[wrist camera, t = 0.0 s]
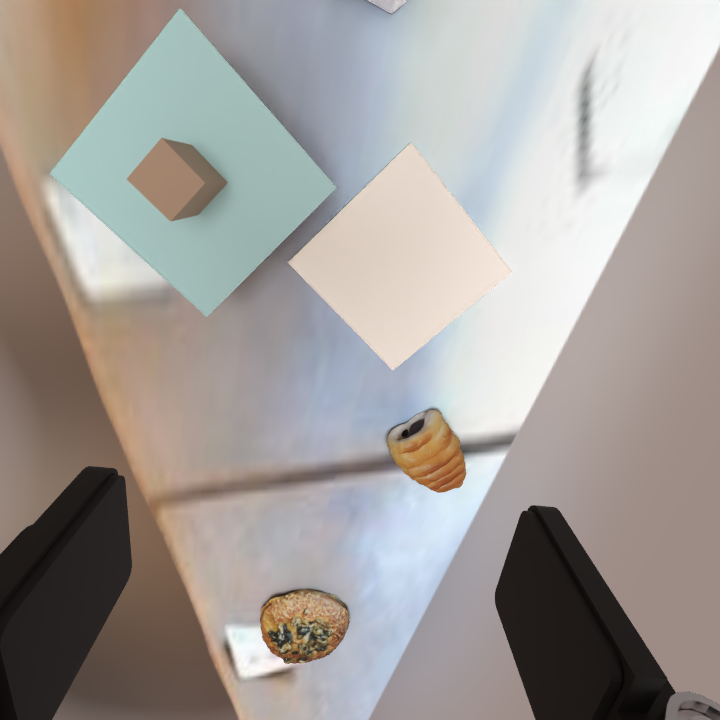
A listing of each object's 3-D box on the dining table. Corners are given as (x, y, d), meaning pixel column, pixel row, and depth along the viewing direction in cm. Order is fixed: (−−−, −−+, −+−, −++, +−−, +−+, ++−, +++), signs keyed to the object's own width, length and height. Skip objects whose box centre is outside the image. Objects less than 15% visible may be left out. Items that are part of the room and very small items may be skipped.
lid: (193, 22, 28) (143, -31, 21) (337, 187, 32) (334, 189, 25) (71, 174, 31) (-9, 172, 24) (216, 308, 35) (183, 340, 28)
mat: (410, 142, 36) (411, 142, 35) (510, 271, 40) (512, 271, 39) (288, 262, 39) (287, 262, 39) (392, 369, 43) (392, 370, 43)
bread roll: (301, 661, 58) (295, 699, 53) (244, 605, 56) (232, 639, 51) (368, 619, 56) (367, 654, 51) (311, 559, 54) (305, 590, 49)
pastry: (478, 464, 48) (488, 486, 44) (424, 493, 49) (430, 517, 46) (433, 400, 45) (441, 419, 41) (377, 433, 46) (380, 454, 42)
